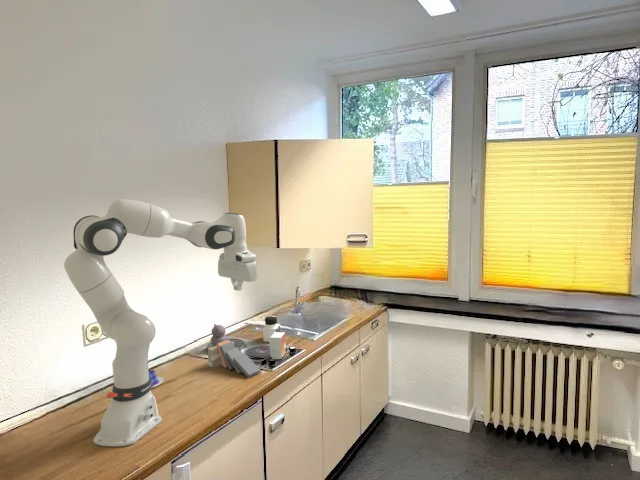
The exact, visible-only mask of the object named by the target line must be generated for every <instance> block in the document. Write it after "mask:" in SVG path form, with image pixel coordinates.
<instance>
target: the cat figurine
mask: <svg viewBox="0 0 640 480" xmlns="http://www.w3.org/2000/svg"><path fill="white" fill-rule="evenodd" d="M225 334H226V328H225V327H224V326H223V325H220V324H216V323H214V326H212V329H211V335H212V336H211V337H210V343H211V345H212V347H213V346H216V344H218V343H220V342H223V341H226V340H228V338H227V336H226V335H225Z"/></svg>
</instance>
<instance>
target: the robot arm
mask: <svg viewBox="0 0 640 480" xmlns="http://www.w3.org/2000/svg"><path fill="white" fill-rule="evenodd" d="M246 226H247V225H246V220H245V217H244V216H243V214H241V213H236V212H235V213H234V212H225V213H223V214H222V216H220V217H219V218H218V219H216V220H215V221H212V222H209V221H205V220H204V221H202V220H201V221H195V222H189V221H184V220H181V219H178V218H174V217H171V215H170V213H169V211H168V210H167V209H165V208H163V207H160V206H158V205H155V204H152V203H148V202H145V201H140V200H135V199H123V198H120V199H116V200H114V201H113V202H112V203H111V204H110V205H109V207H108V210H107V212H106V213H105V215H104V216H101V217H100V216H98V215H92V214H91V215H86V216H83V217H82V218H79V219H78V221H76V223H75V225H74V227H73V233H72V234H73V247H74V249H75V250H74V251H73V252H71V253H70V254H69V255H68V256H67V257H66V258H65V260H64V264H63V265H64V266H63V267H64V270H65V272H66V275H67V277H68V278H69V281H70V282H71V283H72V286H73V287H74V289H76V291H77V293H78V294H79V295H80V297H81V298H82V299H83V301H84V302H85V303H86V304H87V306H88V307H89V309H90V311H91V312H92V314H93V316H94V318H95V319H96V321H97V323H98V325H99V326H100V329H101V330H102V332H103V334H104V335H105V336H106V337H107V338H110V339H111V340H113V341H114V342H115V344H116V353H115V357H114V359H113V360H112V375H113V377H112V378H113V385H112V389H111V391H108V392H107V393H106V398H107V399H111V401H110V402H109V404H108V406H107V408H106V411H105V412H104V414H103V417H102V418H101V422H100V429H99V431H98V432H97V433H96V435H94V438H93V439H92V441H93V442H92V443H93V444H95V445H97V446H102V447H124V446H130V445H133V444H135V443H136V442H138V441H139V440H140V439H141V438H142V437H144V436H145V435H146V434H147V433H149V432H150V431H151V430H152V429H154V428H155V427H156V426H157V425H159V424H160V423H161V422H162V421H163V419H162V416H161V415H159V411H158V405H157V401H156V397H155V395H154V394H153V392H152V390H151V389H152V388H151V379H150V377H149V370H150V369H149V350H150V346H151V345H150V344H151V343H152V342H153V340H154V338H155V336H156V326H155V324H154V322H152V320H150V319H149V317H148V316H146V315H144V314H142V313H139V312H137V311H135V310H134V309H133V308H132V307H131V306H130V305H129V304H128V301H127V299H126V297H125V291H124V289H123V287H122V285H120V283H119V281H118V280H117V278H116V277H115V276H114V274H113V273H112V271H111V270H110V268H109V267H108V266H107V264H106V262H105V259H104V256H110V255H112V254H114V253H115V252H117V251H118V249H120V247H121V245H122V243H123V242H124V241H123V240H124V239H125V238H126V237H127V235H128V234H131V235H136V236H142V237H147V238H162V237H164V236H171V237H176V238H179V239H180V238H181V239H184V240H187V241H188V242H190V244H192V245H193V246H195V247H197V248H205V249H210V250H215V251H216V250H220V249H223V252H222V253H220V255H219V256H218V257H219V258H218V262H217V274H218V276H219V277H221V278H226V279H227V278H228V279H230V281H231V284H232V286H233V290H234V291H242V290H243V288H242V287H243V284H244V282H247V283H251V282H255V281H256V280H257V279H258V266H257V263H256V260H257V254H255V253H253V252H252V251H250V250H249V249H248V244H247V227H246Z"/></svg>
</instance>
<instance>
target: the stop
mask: <svg viewBox="0 0 640 480" xmlns="http://www.w3.org/2000/svg"><path fill="white" fill-rule="evenodd" d="M230 342H233V344H234V345H235V341H231V340H230ZM207 356H208V357H207V358H208V359H207V361H208V367H210V368H216V367H218V366H221V365H223V362H222V359H221V356H220V354H219V351H218V348H217V346H214V347H213V346H212V347H208V348H207Z"/></svg>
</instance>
